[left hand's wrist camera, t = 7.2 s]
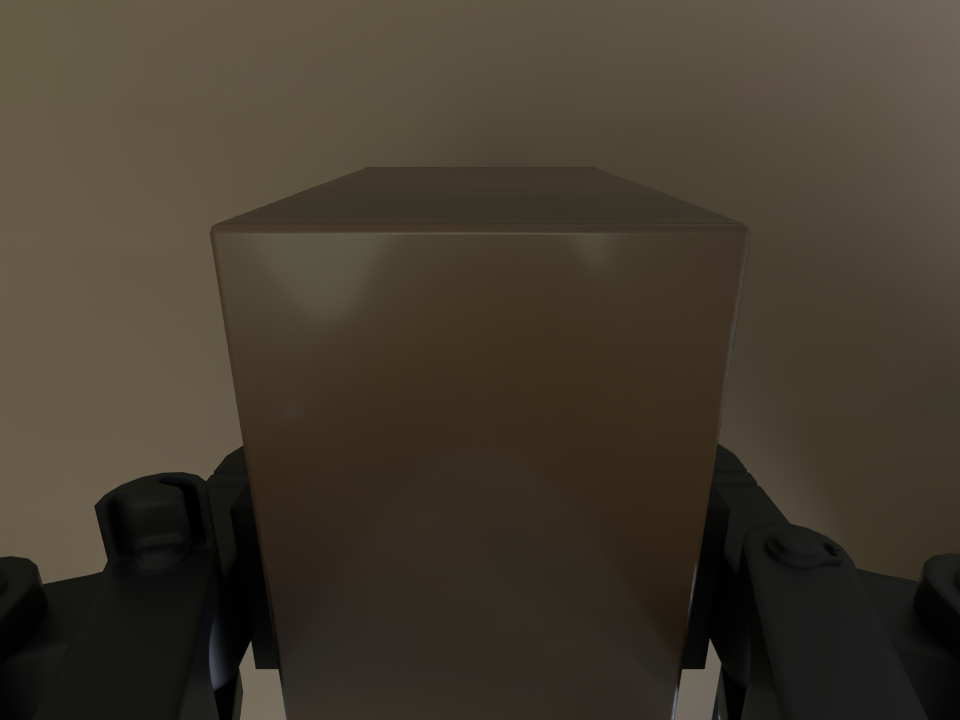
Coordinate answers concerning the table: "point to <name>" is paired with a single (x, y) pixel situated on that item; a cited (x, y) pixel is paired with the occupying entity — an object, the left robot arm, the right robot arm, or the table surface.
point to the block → (480, 436)
